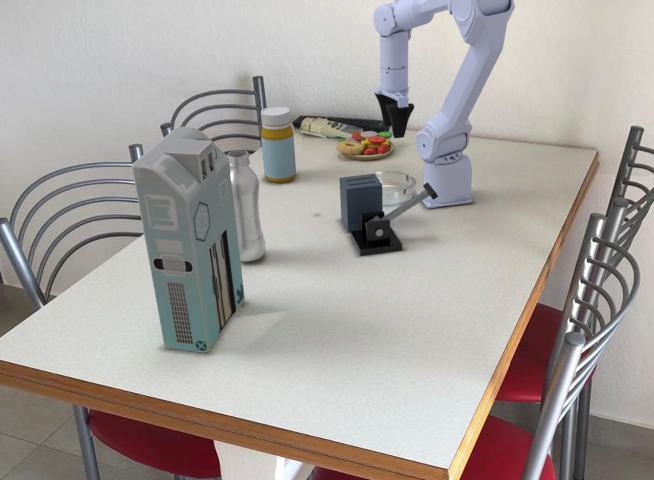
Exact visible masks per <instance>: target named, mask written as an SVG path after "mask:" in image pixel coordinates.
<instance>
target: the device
mask: <svg viewBox="0 0 654 480" xmlns="http://www.w3.org/2000/svg"><path fill="white" fill-rule="evenodd" d="M131 170H132V175H133V176H132V177H133V183H134V186H135V187H134V188H135V193H136V198H137V202H138V209H139V214H140V219H141V225H142V230H143V237H144V241H145V247H146V253H147V258H148V262H149V263H148V264H149V269H150V274H151V275H150V276H151V280H152V285H153V292H154V297H155V303H156V307H157V313H158V318H159V324H160V330H161V335H162V341H163V347H164V349H168V350H177V351H186V352H195V353H202V354H207V353H209V352H210V350H212V348H213V347H214V345H215V344H216V342H217V341H218V339H219V338H220V334H221V332H222V331H223V330H224V328H225V327H226V325H227V324H228V323H229V321H230V319H231V317H233V315H235V314H236V313H237V311H238V310H239V309H240V307H241V306H242V304H243V303H244V302H245V299H246V298H245V297H246V296H245V289H244V281H243V279H244V278H243V271H242V261H240V253H239V244H238V235H237V227H236V218H235V209H234V200H233V192H232V183H231V174H230V165H229V160H228V155H227V154H226V153H225V152H224V151H223V150H222V149H221V148H220V147H219V146H218V145H216V143H214V142H213V140H212V139H211V138H209V137H208V136H207V135H206V134H205V133H204V132H203V131H201V130H200V129H198V128H195V127H193V126H179V125H178V126H176V127H175V128H174V129H172V130H171V131H170V132H168V133H167V135H165V136H164V137H163V138H162V139H160V140H159V141H158V142H157V143H156V144H154V145H153V146H152V147H151V148H149V150H148V151H146V152H145V153H144V154H142V156H140V157H139V158H137V160H135V161H134V162H133V163H131Z"/></svg>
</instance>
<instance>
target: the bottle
mask: <svg viewBox="0 0 654 480" xmlns="http://www.w3.org/2000/svg"><path fill="white" fill-rule="evenodd" d="M260 117H261V131H260V141H261V142H260V143H261V150H262V162H263V172H264V178H265V179H266V180H267V181H268V182H270V183H273V184H285V183H289V182H292V181H293V180H294V179H295V178H296V177H297V167H296V166H297V164H296V152H295V136H294V129H293V127H292V125H291V110H290V108H289V107H287V106H282V105H281V106H279V105H275V106H268V107H265V108H262V109H261V111H260Z"/></svg>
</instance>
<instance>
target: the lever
mask: <svg viewBox="0 0 654 480" xmlns="http://www.w3.org/2000/svg"><path fill="white" fill-rule="evenodd" d="M423 187H424V189H425V191H423V190H422V191H423V192H421V193H420V194H418V195H417V194H416V195H415V196H413V197H412V198H410V199H409V200H407V201H405V202H404V203H403V204H401V205H400V206H398V207H397V208H394V209H393V210H392V211H390V212H389V213H387V214H385V216H384V217H382V218H381V219H379V217H378V215H377V216H375V217H374V218H372V219H371V220H369V221H367V222H372V221H379V220H387V219H389V220H390V222H391V221H393V220H394V219H396V218H397V217H399V216H401V215H402V214H404V213H405V212H407V211H409V210H410V209H412V208H413V207H415V206H416V205H418V204H419V203H421V202H423V201H422V200H424V199H426V198H427V197H429V196H430V197H431V198H432V199H433V200H434V199H436V198H437V197H438V195H437V193H436V192H435V191H434V189H433V188H432V187H431V186H430V184H429V183H428V182H427V183H426V184H424V185H423V184H422V188H423ZM365 225H366V223H365Z"/></svg>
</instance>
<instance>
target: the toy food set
mask: <svg viewBox="0 0 654 480" xmlns="http://www.w3.org/2000/svg"><path fill="white" fill-rule="evenodd" d="M392 137H393V132H391V131H380V132H376V131H373V130H366V131H362V132H360V131H356V132H353V133H352V134H351V136H348V137H346V138H345V137H344V138H343V137H341V138H339V139H338V143H337V144H336V149H335V150H336V151H338V152H339V153H342V154H343V155H344V156H345V157H347V158H349V159H351V160H358V161H374V160H379V159H383V158H385V157H387V156H388V155H390V154H391V153H392V152H393V150H394V149H395V145H394V143H393V142H392V141H391V140H390V139H391V138H392Z"/></svg>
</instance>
